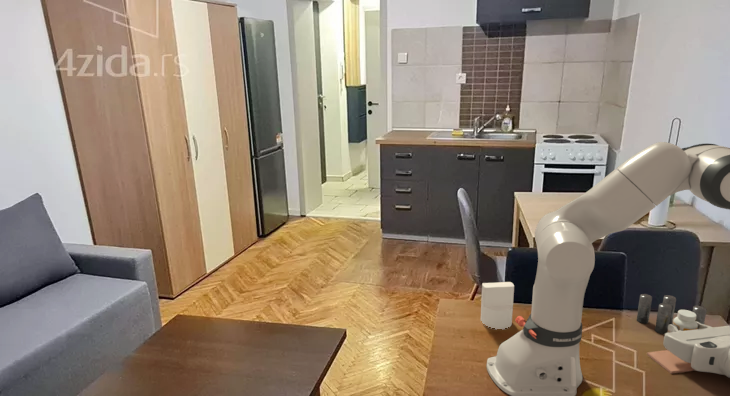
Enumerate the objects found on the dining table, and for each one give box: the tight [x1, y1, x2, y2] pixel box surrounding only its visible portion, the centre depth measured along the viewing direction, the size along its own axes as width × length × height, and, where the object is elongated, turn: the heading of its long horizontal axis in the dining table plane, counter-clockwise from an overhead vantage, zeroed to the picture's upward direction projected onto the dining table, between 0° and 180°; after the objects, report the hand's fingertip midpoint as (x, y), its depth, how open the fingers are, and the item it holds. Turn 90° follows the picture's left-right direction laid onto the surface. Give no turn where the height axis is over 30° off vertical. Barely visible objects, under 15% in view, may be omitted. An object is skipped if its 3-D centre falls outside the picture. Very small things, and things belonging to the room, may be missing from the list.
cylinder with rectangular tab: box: [480, 281, 515, 330], centre depth 135 cm, size 9×9×12 cm
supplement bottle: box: [672, 309, 698, 331], centre depth 121 cm, size 5×5×10 cm
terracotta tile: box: [646, 349, 696, 374], centre depth 115 cm, size 8×8×1 cm
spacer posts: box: [636, 293, 707, 335], centre depth 130 cm, size 12×12×8 cm
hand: (681, 325), depth 122 cm, fingers closed on supplement bottle, 5 cm apart
